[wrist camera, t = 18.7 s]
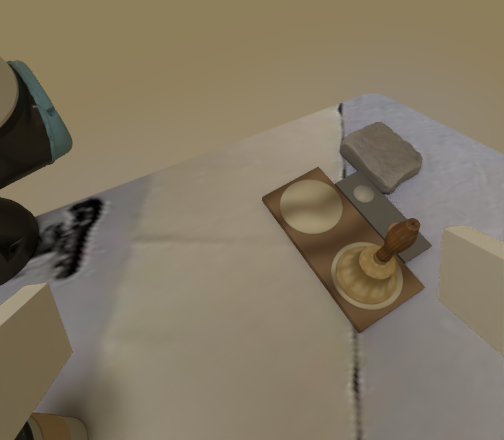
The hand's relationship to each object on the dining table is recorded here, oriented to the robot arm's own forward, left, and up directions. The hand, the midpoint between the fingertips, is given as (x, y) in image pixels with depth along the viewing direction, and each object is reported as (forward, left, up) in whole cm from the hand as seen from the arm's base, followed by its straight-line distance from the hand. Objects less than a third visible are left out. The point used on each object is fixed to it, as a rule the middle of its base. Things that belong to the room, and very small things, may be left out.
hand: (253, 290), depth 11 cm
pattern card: (-9, +26, -34) cm, 44 cm away
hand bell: (-2, +18, -33) cm, 38 cm away
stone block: (-17, +34, -35) cm, 51 cm away
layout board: (-9, +18, -34) cm, 40 cm away
